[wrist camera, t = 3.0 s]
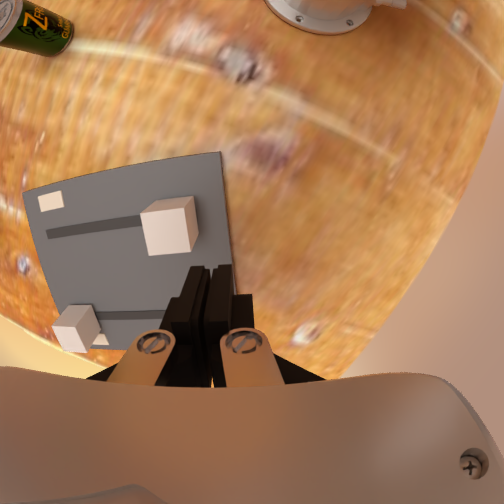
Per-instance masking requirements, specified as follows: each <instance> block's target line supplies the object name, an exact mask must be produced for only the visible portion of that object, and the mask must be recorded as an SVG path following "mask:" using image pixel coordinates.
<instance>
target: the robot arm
mask: <svg viewBox="0 0 504 504" xmlns="http://www.w3.org/2000/svg"><path fill="white" fill-rule="evenodd" d="M265 2H266V4H267V5H268V7H269V8H270V9H271V10H272V11H273V12H274V13H275V14H276V15H277V16H279V17H280V18H281V19H282V20H284V21H285V22H287V23H289V24H291V25H292V26H295V27H297V28H299V29H302V30H305V31H308V32H312V33H317V34H324V35H330V34H341V33H346V32H349V31H351V30H354V29H355V28H357V27H358V26H360V25H361V24H362V23H363V22H364V21H365V20H366V19H367V18H368V16H369V15H370V12H371V9H372V5H373V6H380V5H381V4H382V5H387V6H389V7H393V8H397V9H401V10H404V9H405V8H406V5H407V2H406V0H265ZM296 20H299V21H300V22H297V21H296ZM346 23H347V24H348V25H347V24H346ZM212 378H213V384H214V388H211V382H212ZM0 504H504V458H503V456H502V454H501V452H500V450H499V449H498V447H497V445H496V443H495V441H494V439H493V437H492V436H491V434H490V432H489V431H488V429H487V428H486V426H485V425H484V423H483V421H482V420H481V418H480V417H479V415H478V414H477V412H476V411H475V410H474V408H473V407H472V406H471V404H470V403H469V402H468V401H467V399H466V398H465V397H464V396H463V395H462V394H461V393H460V392H459V391H458V390H457V389H456V388H455V387H454V386H453V385H452V384H451V383H449V382H448V381H446V380H444V379H442V378H439V377H437V376H432V375H427V374H420V373H408V372H404V373H403V372H400V373H381V374H370V375H363V376H356V377H349V378H340V379H331V380H326V379H324V378H322V377H320V376H317V375H315V374H313V373H311V372H309V371H307V370H305V369H303V368H301V367H299V366H297V365H295V364H293V363H291V362H289V361H287V360H285V359H283V358H281V357H279V356H278V355H276V354H274V353H273V352H272V349H271V347H270V344H269V341H268V339H267V337H266V335H265V334H264V333H262V332H261V331H259V330H256V329H255V328H254V314H253V300H252V294H242V295H235V294H234V282H233V269H232V264H222V265H218V268H213V272H212V277H211V274H210V269H205V266H204V265H202V266H191V267H190V269H189V272H188V274H187V277H186V280H185V282H184V285H183V288H182V291H181V293H180V296H179V297H171V299H170V301H169V304H168V306H167V309H166V311H165V314H164V316H163V319H162V322H161V324H160V327H159V329H158V330H150V331H147V332H144V333H142V334H140V335H139V336H137V337H136V338H135V340H134V341H133V342H132V344H131V345H130V347H129V348H128V350H127V351H126V353H125V354H124V355H123V357H122V358H121V360H120V361H119V363H117V364H115V365H113V366H111V367H109V368H107V369H105V370H103V371H101V372H99V373H97V374H94V375H93V376H90V377H88V378H86V379H81V378H74V377H68V376H62V375H56V374H51V373H46V372H41V371H35V370H29V369H24V368H18V367H8V366H7V367H0Z"/></svg>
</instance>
